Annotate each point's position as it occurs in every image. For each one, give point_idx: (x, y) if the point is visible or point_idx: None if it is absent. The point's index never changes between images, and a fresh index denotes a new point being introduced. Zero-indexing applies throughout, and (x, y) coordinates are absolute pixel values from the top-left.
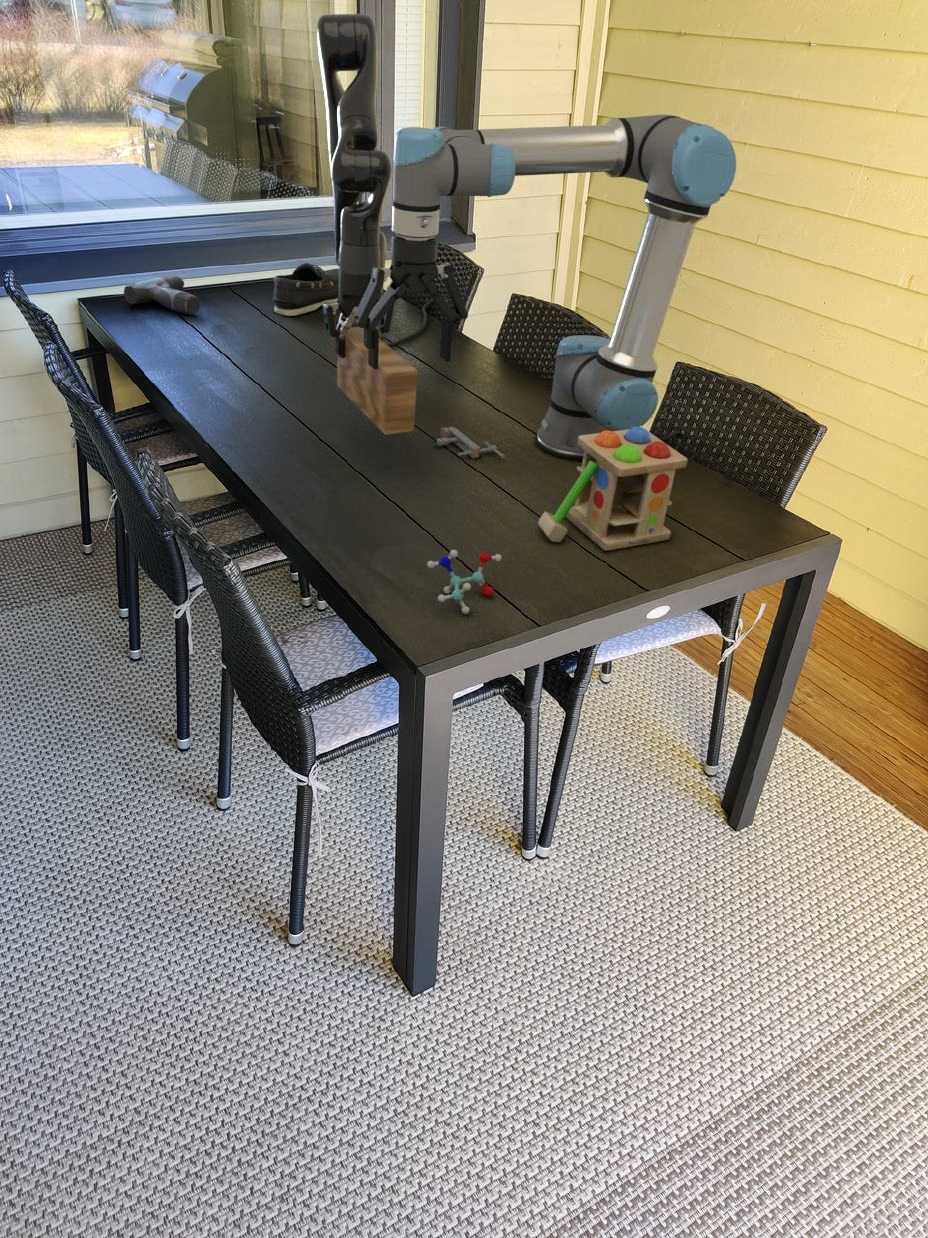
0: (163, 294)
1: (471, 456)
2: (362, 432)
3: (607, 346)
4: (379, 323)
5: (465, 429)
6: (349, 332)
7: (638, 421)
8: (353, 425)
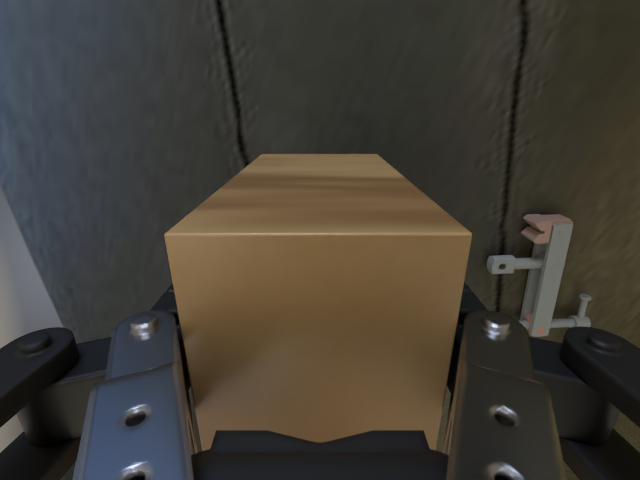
0: None
1: (520, 319)
2: (359, 125)
3: None
4: (590, 366)
5: (614, 183)
6: (251, 348)
7: None
8: (355, 71)
